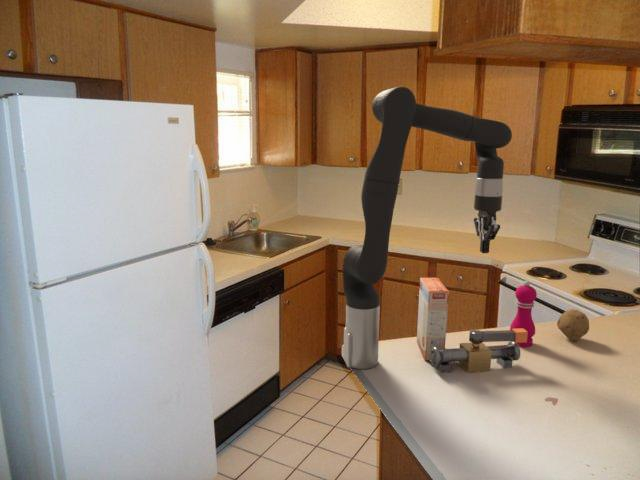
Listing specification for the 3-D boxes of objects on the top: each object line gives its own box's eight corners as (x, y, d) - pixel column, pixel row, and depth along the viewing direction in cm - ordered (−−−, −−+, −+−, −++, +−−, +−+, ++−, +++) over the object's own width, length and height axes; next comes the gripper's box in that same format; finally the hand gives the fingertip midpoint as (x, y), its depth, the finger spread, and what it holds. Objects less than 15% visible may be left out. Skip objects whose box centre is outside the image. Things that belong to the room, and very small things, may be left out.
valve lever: (471, 344, 137) (472, 334, 137) (467, 339, 141) (467, 329, 140) (527, 343, 138) (528, 332, 138) (521, 337, 142) (522, 327, 141)
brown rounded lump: (549, 338, 160) (553, 308, 158) (564, 331, 166) (567, 302, 164) (578, 348, 153) (582, 316, 151) (592, 340, 159) (596, 310, 157)
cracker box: (445, 361, 144) (449, 291, 140) (424, 361, 144) (427, 290, 140) (435, 341, 158) (439, 276, 153) (416, 341, 158) (419, 276, 153)
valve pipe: (437, 375, 136) (438, 349, 134) (428, 365, 142) (430, 340, 140) (519, 368, 140) (522, 343, 138) (508, 359, 146) (510, 335, 144)
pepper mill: (508, 345, 155) (513, 282, 151) (509, 337, 161) (514, 276, 157) (533, 349, 152) (540, 285, 148) (534, 340, 159) (540, 279, 155)
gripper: (512, 196, 140) (507, 257, 143) (490, 191, 153) (486, 247, 156) (486, 196, 139) (481, 258, 143) (466, 191, 152) (463, 247, 155)
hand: (484, 252), depth 149 cm, fingers closed
